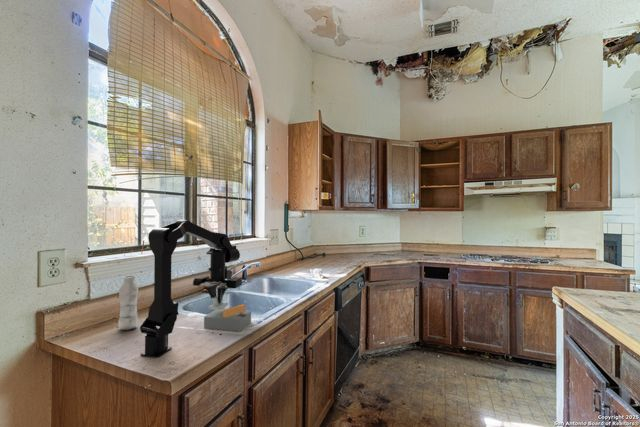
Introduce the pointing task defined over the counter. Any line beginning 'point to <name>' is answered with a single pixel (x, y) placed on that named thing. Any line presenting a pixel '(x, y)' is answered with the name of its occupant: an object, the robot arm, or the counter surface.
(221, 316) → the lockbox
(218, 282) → the robot arm
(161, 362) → the counter surface
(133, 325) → the plastic bottle
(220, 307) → the cover
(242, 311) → the orange square pillar
